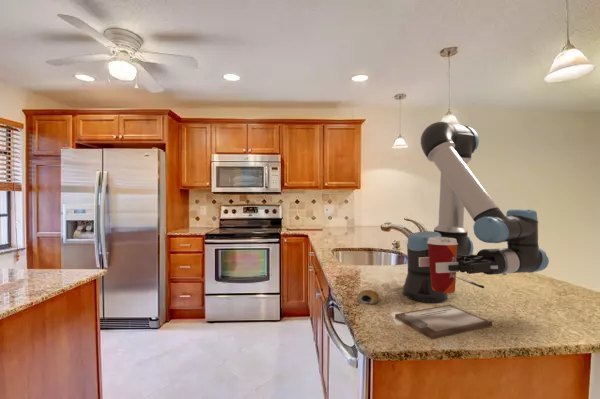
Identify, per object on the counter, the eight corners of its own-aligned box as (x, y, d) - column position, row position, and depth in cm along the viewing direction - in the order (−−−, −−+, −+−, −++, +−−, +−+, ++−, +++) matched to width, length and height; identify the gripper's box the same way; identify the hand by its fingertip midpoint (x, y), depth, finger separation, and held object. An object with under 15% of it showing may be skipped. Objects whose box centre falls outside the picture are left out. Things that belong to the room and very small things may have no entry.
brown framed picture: (395, 317, 84) (395, 311, 84) (449, 307, 91) (449, 301, 92) (431, 339, 71) (431, 331, 71) (491, 325, 78) (491, 318, 78)
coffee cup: (464, 295, 76) (462, 240, 76) (431, 293, 77) (430, 239, 78) (453, 286, 84) (452, 236, 84) (424, 285, 86) (423, 236, 86)
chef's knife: (457, 276, 131) (451, 276, 131) (457, 274, 131) (451, 274, 131) (489, 289, 112) (482, 288, 112) (489, 286, 112) (482, 286, 112)
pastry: (363, 295, 105) (363, 284, 105) (381, 298, 102) (382, 287, 102) (356, 303, 97) (356, 292, 97) (376, 306, 94) (376, 295, 94)
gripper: (529, 282, 74) (452, 288, 70) (470, 266, 94) (408, 270, 90) (528, 254, 74) (452, 258, 70) (469, 244, 94) (407, 246, 90)
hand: (427, 264), depth 80 cm, fingers closed on coffee cup, 7 cm apart
